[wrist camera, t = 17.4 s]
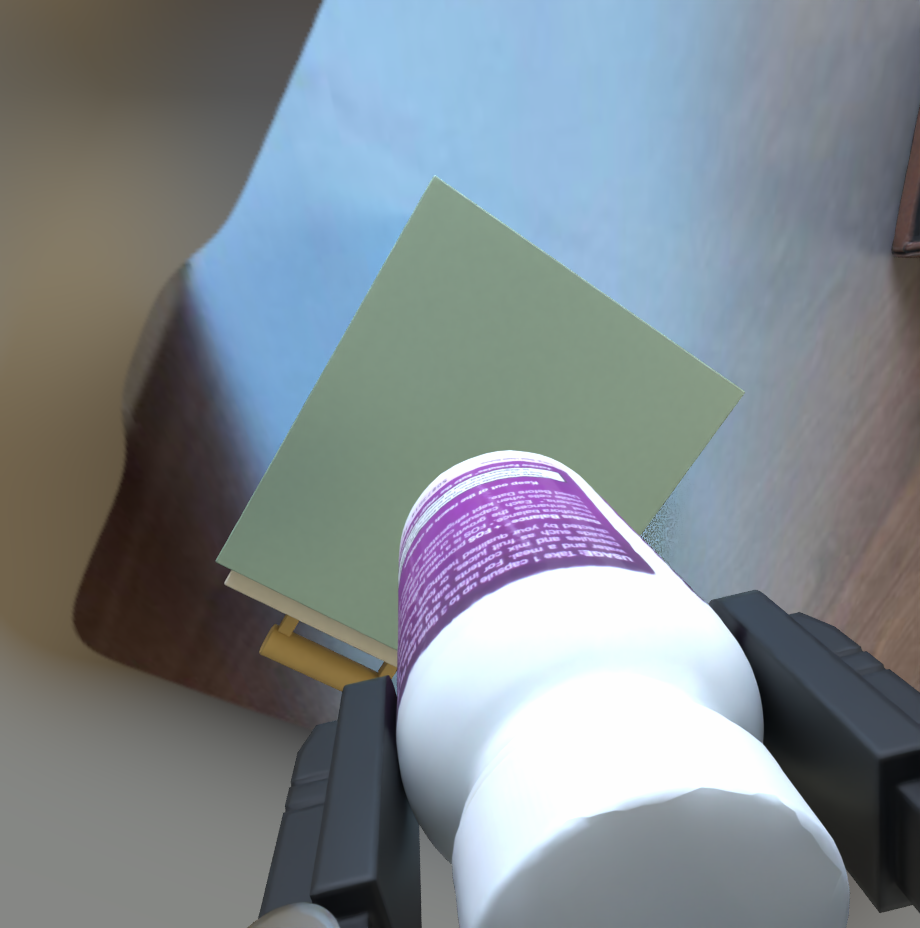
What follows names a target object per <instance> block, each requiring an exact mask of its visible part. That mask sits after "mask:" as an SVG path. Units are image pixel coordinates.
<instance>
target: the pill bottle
mask: <svg viewBox="0 0 920 928" xmlns="http://www.w3.org/2000/svg"><path fill="white" fill-rule="evenodd" d="M763 738H764V719H763V709H762V702H761V697H760V693H759V689H758V685H757V682H756V679H755V676H754V673H753V670H752V668H751V666H750V663H749V661H748V659H747V658H746V656H745V654H744V652H743V650H742V648H741V647H740V645H739V643H738V642H737V640H736V639H735V638H734V636H733V635H732V634H731V632H730V631H729V630H728V628H727V627H726V626H725V624H724V623H723V622H722V620H721V619H720V617H719V616H718V615H717V614H716V613H715V612H714V610H713V609H712V608H711V607H710V606H709V605H708V604H707V603H706V602H705V601H704V600H703V599H701V598H700V597H699V596H698V595H697V594H696V593H695V592H694V591H693V590H692V588H691V587H690V586H689V585H688V584H687V583H686V582H685V581H684V580H683V579H682V578H681V577H680V576H679V575H678V574H677V573H676V572H675V571H674V570H673V569H672V568H671V567H670V566H669V565H668V564H667V563H666V562H665V561H664V560H663V559H662V558H661V557H660V556H659V555H658V554H657V553H656V552H655V551H654V550H653V549H652V548H651V547H650V546H649V545H648V544H647V543H646V542H645V541H644V540H643V539H642V538H641V537H640V536H639V535H638V534H637V533H636V532H635V531H634V530H633V529H632V528H631V527H630V526H629V525H628V524H627V523H626V521H625V520H624V519H623V518H622V517H621V516H620V515H619V514H618V513H617V512H616V511H615V510H614V509H613V508H612V507H611V506H610V505H609V504H608V503H607V501H606V500H604V499H603V498H602V497H601V496H600V495H599V494H597V493H596V492H595V491H594V490H593V488H592V487H591V486H590V485H588V484H587V483H586V481H585V480H584V479H583V478H581V477H580V476H579V475H578V474H577V473H575V472H574V471H573V470H571V469H570V468H568V467H567V466H565V465H563V464H562V463H560V462H558V461H556V460H553V459H551V458H549V457H546V456H543V455H540V454H534V453H529V452H521V451H512V450H508V451H497V452H492V453H487V454H483V455H480V456H477V457H474V458H471V459H468V460H466V461H463V462H461V463H459V464H457V465H455V466H453V467H452V468H450V469H448V470H447V471H445V472H443V473H442V474H440V475H439V476H438V477H437V478H436V479H435V480H434V481H433V482H432V483H431V484H430V485H429V486H428V487H427V488H426V489H425V490H424V492H423V493H422V494H421V496H420V497H419V499H418V500H417V501H416V503H415V504H414V506H413V508H412V510H411V512H410V514H409V516H408V518H407V520H406V523H405V526H404V529H403V532H402V536H401V542H400V550H399V571H398V651H397V716H396V744H397V753H398V761H399V767H400V773H401V779H402V783H403V786H404V790H405V793H406V796H407V799H408V801H409V804H410V806H411V809H412V811H413V813H414V815H415V817H416V819H417V821H418V823H419V824H420V826H421V827H422V829H423V831H424V832H425V834H426V835H427V837H428V838H429V840H430V841H431V842H432V844H433V845H434V846H435V848H436V849H437V850H438V851H439V852H440V853H441V854H442V855H443V856H444V857H445V859H446V860H447V861H449V862H450V863H451V864H452V871H453V873H452V874H453V882H454V888H455V893H456V902H457V913H458V920H459V928H846V925H847V920H848V916H849V904H850V890H849V884H848V879H847V873H846V869H845V866H844V863H843V860H842V857H841V855H840V853H839V851H838V848H837V846H836V844H835V842H834V840H833V839H832V837H831V836H830V834H829V833H828V832H827V830H826V829H825V827H824V826H823V825H822V823H821V822H820V820H819V819H818V818H817V817H816V815H815V814H814V812H813V811H812V810H811V808H810V807H809V806H808V804H807V803H806V802H805V800H804V799H803V798H802V796H801V795H800V794H799V792H798V791H797V790H796V788H795V787H794V786H793V784H792V783H791V782H790V780H789V779H788V778H787V776H786V775H785V774H784V772H783V771H782V769H781V768H780V766H779V764H778V763H777V762H776V760H775V759H774V757H773V756H772V755H771V753H770V752H769V751H768V750H767V748H766V747H765V746H764V745H763Z"/></svg>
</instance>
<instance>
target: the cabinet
mask: <svg viewBox="0 0 920 928" xmlns="http://www.w3.org/2000/svg"><path fill="white" fill-rule="evenodd" d="M744 393H745V392H744V391H743V390H742V389H740V388H739V387H737V386H736V385H735V384H733V383H732V382H730V381H729V380H727V379H726V378H725V377H723V376H722V375H720V374H719V373H717V372H716V371H715V370H713V369H712V368H710V367H709V366H707V365H706V364H704V363H703V362H702V361H700V360H699V359H697V358H696V357H694V356H693V355H692V354H690V353H689V352H687V351H686V350H684V349H683V348H682V347H680V346H679V345H677V344H676V343H674V342H673V341H672V340H670V339H669V338H667V337H666V336H664V335H663V334H662V333H660V332H659V331H657V330H656V329H654V328H653V327H651V326H650V325H649V324H647V323H646V322H644V321H643V320H641V319H640V318H639V317H637V316H636V315H634V314H633V313H631V312H630V311H629V310H627V309H626V308H624V307H623V306H621V305H620V304H619V303H617V302H616V301H614V300H613V299H611V298H610V297H609V296H607V295H606V294H604V293H603V292H601V291H600V290H598V289H597V288H596V287H594V286H593V285H591V284H590V283H588V282H587V281H586V280H584V279H583V278H581V277H580V276H578V275H577V274H576V273H574V272H573V271H571V270H570V269H568V268H567V267H566V266H564V265H563V264H561V263H560V262H558V261H557V260H556V259H554V258H553V257H551V256H550V255H548V254H547V253H546V252H544V251H543V250H541V249H540V248H538V247H537V246H535V245H534V244H533V243H531V242H530V241H528V240H527V239H525V238H524V237H523V236H521V235H520V234H518V233H517V232H515V231H514V230H513V229H511V228H510V227H508V226H507V225H505V224H504V223H503V222H501V221H500V220H498V219H497V218H495V217H494V216H493V215H491V214H490V213H488V212H487V211H485V210H484V209H482V208H481V207H480V206H478V205H477V204H475V203H474V202H472V201H471V200H470V199H468V198H467V197H465V196H464V195H462V194H461V193H460V192H458V191H457V190H455V189H454V188H452V187H451V186H450V185H448V184H447V183H445V182H444V181H442V180H441V179H440V178H438V177H437V176H433V178H432V180H431V181H430V183H429V185H428V187H427V189H426V190H425V192H424V194H423V196H422V197H421V199H420V201H419V203H418V204H417V206H416V208H415V210H414V211H413V213H412V215H411V217H410V219H409V220H408V222H407V224H406V226H405V227H404V229H403V231H402V233H401V234H400V236H399V238H398V240H397V241H396V243H395V245H394V247H393V249H392V250H391V252H390V254H389V256H388V257H387V259H386V261H385V263H384V264H383V266H382V268H381V270H380V271H379V273H378V275H377V277H376V279H375V280H374V282H373V284H372V286H371V287H370V289H369V291H368V293H367V294H366V296H365V298H364V300H363V301H362V303H361V305H360V307H359V309H358V310H357V312H356V314H355V316H354V317H353V319H352V321H351V323H350V324H349V326H348V328H347V330H346V331H345V333H344V335H343V337H342V339H341V340H340V342H339V344H338V346H337V347H336V349H335V351H334V353H333V354H332V356H331V358H330V360H329V361H328V363H327V365H326V367H325V369H324V370H323V372H322V374H321V376H320V377H319V379H318V381H317V383H316V384H315V386H314V388H313V390H312V391H311V393H310V395H309V397H308V399H307V400H306V402H305V404H304V406H303V407H302V409H301V411H300V413H299V414H298V416H297V418H296V420H295V421H294V423H293V425H292V427H291V429H290V430H289V432H288V434H287V436H286V437H285V439H284V441H283V443H282V444H281V446H280V448H279V450H278V451H277V453H276V455H275V457H274V459H273V460H272V462H271V464H270V466H269V467H268V469H267V471H266V473H265V474H264V476H263V478H262V480H261V481H260V483H259V485H258V487H257V489H256V490H255V492H254V494H253V496H252V497H251V499H250V501H249V503H248V504H247V506H246V508H245V510H244V511H243V513H242V515H241V517H240V519H239V520H238V522H237V524H236V526H235V527H234V529H233V531H232V533H231V534H230V536H229V538H228V540H227V541H226V543H225V545H224V547H223V549H222V550H221V552H220V554H219V556H218V557H217V559H216V562H217V563H219V564H221V565H223V566H225V567H227V568H229V569H231V570H233V571H235V572H237V573H239V574H241V575H243V576H245V577H247V578H249V579H251V580H254V581H256V582H258V583H260V584H262V585H264V586H266V587H268V588H270V589H272V590H274V591H276V592H278V593H280V594H282V595H284V596H286V597H288V598H290V599H292V600H294V601H297V602H299V603H301V604H303V605H305V606H307V607H309V608H311V609H313V610H315V611H317V612H319V613H321V614H323V615H325V616H327V617H329V618H331V619H333V620H335V621H338V622H340V623H342V624H344V625H346V626H348V627H350V628H352V629H354V630H356V631H358V632H360V633H362V634H364V635H366V636H368V637H370V638H372V639H374V640H376V641H378V642H381V643H383V644H385V645H387V646H389V647H391V648H393V649H395V650H397V651H398V571H399V550H400V542H401V536H402V532H403V529H404V526H405V523H406V520H407V518H408V516H409V514H410V512H411V510H412V508H413V506H414V504H415V503H416V501H417V500H418V499H419V497H420V496H421V494H422V493H423V492H424V490H425V489H426V488H427V487H428V486H429V485H430V484H431V483H432V482H433V481H434V480H435V479H436V478H437V477H438V476H439V475H440V474H442V473H443V472H445V471H447V470H448V469H450V468H452V467H453V466H455V465H457V464H459V463H461V462H463V461H466V460H468V459H471V458H474V457H477V456H480V455H483V454H487V453H492V452H497V451H508V450H512V451H521V452H529V453H534V454H540V455H543V456H546V457H549V458H551V459H553V460H556V461H558V462H560V463H562V464H563V465H565V466H567V467H568V468H570V469H571V470H573V471H574V472H575V473H577V474H578V475H579V476H580V477H581V478H583V479H584V480H585V481H586V483H587V484H588V485H590V486H591V487H592V488H593V490H594V491H595V492H596V493H597V494H599V495H600V496H601V497H602V498H603V499H604V500H606V501H607V503H608V504H609V505H610V506H611V507H612V508H613V509H614V510H615V511H616V512H617V513H618V514H619V515H620V516H621V517H622V518H623V519H624V520H625V521H626V523H627V524H628V525H629V526H630V527H631V528H632V529H633V530H634V531H635V532H636V533H637V534H638V535H639V536H640V535H641V534H642V533H643V531H644V530H645V528H646V527H647V526H648V524H649V523H650V522H651V520H652V519H653V518H654V516H655V515H656V513H657V512H658V511H659V509H660V508H661V507H662V505H663V504H664V503H665V501H666V500H667V498H668V497H669V496H670V494H671V493H672V492H673V490H674V489H675V487H676V486H677V485H678V483H679V482H680V481H681V479H682V478H683V477H684V475H685V474H686V472H687V471H688V470H689V468H690V467H691V466H692V464H693V463H694V461H695V460H696V459H697V457H698V456H699V455H700V453H701V452H702V451H703V449H704V448H705V446H706V445H707V444H708V442H709V441H710V440H711V438H712V437H713V435H714V434H715V433H716V431H717V430H718V429H719V427H720V426H721V425H722V423H723V422H724V420H725V419H726V418H727V416H728V415H729V414H730V412H731V411H732V409H733V408H734V407H735V405H736V404H737V403H738V401H739V400H740V399H741V397H742V396H743V394H744Z"/></svg>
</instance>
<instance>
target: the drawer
mask: <svg viewBox="0 0 920 928" xmlns="http://www.w3.org/2000/svg"><path fill="white" fill-rule="evenodd" d="M225 585H226V586H228V587H231V588H233V589H235V590H237V591H239V592H241V593H243V594H245V595H247V596H249V597H251V598H253V599H256V600H258V601H260V602H262V603H264V604H266V605H268V606H270V607H272V608H274V609H276V610H278V611H280V612H283V613H285V614H286V615H285V617H284V618H283V620H282V622H281V623H280V626H279V625H277V624H275V625H273V627H272V628H271V630H270V631H269V633H268V635H267V637H266V638H265V640H264V642H263V644H262V646H261V649H260V652H259V653H260V654H261V655H263V656H266V657H268V658H270V659H272V660H274V661H276V662H279V663H281V664H283V665H285V666H287V667H289V668H292V669H294V670H296V671H298V672H300V673H302V674H305V675H307V676H309V677H311V678H313V679H315V680H318V681H320V682H322V683H324V684H326V685H329V686H331V687H333V688H335V689H337V690H339V691H343V687H344V686H345V685H348V684H352V683H356V682H361V681H365V680H369V679H373V678H378V677H382V676H386V675H389V676H390V678H391V679H392V677H393V676H394V674H395V673H396V671H397V650H395V649H393V648H391V647H389V646H387V645H385V644H383V643H381V642H378V641H376V640H374V639H372V638H370V637H368V636H366V635H364V634H362V633H360V632H358V631H356V630H354V629H352V628H350V627H348V626H346V625H344V624H342V623H340V622H338V621H335V620H333V619H331V618H329V617H327V616H325V615H323V614H321V613H319V612H317V611H315V610H313V609H311V608H309V607H307V606H305V605H303V604H301V603H299V602H297V601H294V600H292V599H290V598H288V597H286V596H284V595H282V594H280V593H278V592H276V591H274V590H272V589H270V588H268V587H266V586H264V585H262V584H260V583H258V582H256V581H254V580H251V579H249V578H247V577H245V576H243V575H241V574H239V573H237V572H235V571H233V570H231V572H230V574H229V575H228V577H227V579H226V581H225ZM299 621H301V622H303V623H305V624H307V625H310V626H312V627H314V628H316V629H318V630H320V631H322V632H324V633H326V634H328V635H330V636H332V637H334V638H337V639H339V640H341V641H343V642H345V643H347V644H349V645H351V646H353V647H355V648H357V649H359V650H362V651H364V652H366V653H368V654H370V655H372V656H374V657H376V658H378V659H380V660H382V661H384V663H383V664H382V666H381V667H380V669H379V670H378V672H376V671H374V670H372V669H370V668H368V667H366V666H364V665H361V664H359V663H357V662H355V661H353V660H351V659H349V658H347V657H345V656H343V655H340V654H338V653H336V652H334V651H332V650H330V649H328V648H326V647H324V646H322V645H319V644H317V643H315V642H313V641H311V640H309V639H307V638H305V637H303V636H300V635H298V634H296V633H294V632H293V630H294V629H295V627H296V625H297V624H298V622H299Z"/></svg>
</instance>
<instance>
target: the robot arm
mask: <svg viewBox="0 0 920 928" xmlns="http://www.w3.org/2000/svg"><path fill="white" fill-rule="evenodd" d="M709 606H710V607H711V608H712V609H713V610H714V612H715V613H716V614H717V615H718V616H719V617H720V619H721V620H722V622H723V623H724V624H725V626H726V627H727V628H728V630H729V631H730V632H731V634H732V635H733V636H734V638H735V639H736V640H737V642H738V643H739V645H740V647H741V648H742V650H743V652H744V654H745V656H746V658H747V659H748V661H749V663H750V666H751V668H752V670H753V673H754V676H755V679H756V682H757V685H758V689H759V693H760V697H761V702H762V709H763V719H764V738H763V745H764V746H765V747H766V748H767V750H768V751H769V752H770V753H771V755H772V756H773V757H774V759H775V760H776V762H777V763H778V764H779V766H780V768H781V769H782V771H783V772H784V774H785V775H786V776H787V778H788V779H789V780H790V782H791V783H792V784H793V786H794V787H795V788H796V790H797V791H798V792H799V794H800V795H801V796H802V798H803V799H804V800H805V802H806V803H807V804H808V806H809V807H810V808H811V810H812V811H813V812H814V814H815V815H816V817H817V818H818V819H819V820H820V822H821V823H822V825H823V826H824V827H825V829H826V830H827V832H828V833H829V834H830V836H831V837H832V839H833V840H834V842H835V844H836V846H837V848H838V851H839V853H840V855H841V857H842V860H843V863H844V866H845V868H846V870H847V871H848V872H849V873H850V875H851V876H852V877H853V878H854V880H855V881H856V883H857V884H858V885H859V887H860V888H861V889H862V890H863V892H864V893H865V894H866V896H867V897H868V898H869V900H870V901H871V902H872V904H873V905H874V906H875V907H876V909H877V910H878V911H879V913H881V912H886V911H890V910H894V909H898V908H902V907H906V906H910V905H913V906H914V907H915V908H916V909H917V910H918V911H919V913H920V693H919V692H918V691H917V690H916V689H914V688H913V687H912V686H910V685H909V684H908V683H907V682H905V681H904V680H903V679H901V678H900V677H899V676H898V675H896V674H895V673H894V672H892V671H891V670H890V669H888V670H886V669H885V668H884V665H883V664H882V663H881V662H880V661H878V660H877V659H876V658H874V657H873V656H872V655H871V654H869V653H868V652H867V651H865V652H863V651H862V649H861V647H860V646H859V645H858V644H856V643H855V642H854V641H852V640H851V639H850V638H849V637H847V636H846V635H845V634H843V633H842V632H841V631H840V630H838V629H837V628H836V627H834V626H832V625H830V624H827V623H825V622H822V621H820V620H818V619H815V618H813V617H810V616H808V615H805V614H803V613H801V612H798V613H794V614H790V615H788V614H787V613H786V612H785V611H784V610H782V609H781V608H780V607H779V606H778V605H776V604H775V603H774V602H773V601H772V600H770V599H769V598H768V597H767V596H766V595H764V594H763V593H762V592H760V591H758V590H752V591H748V592H744V593H739V594H735V595H731V596H727V597H722V598H718V599H714V600H711V601H710V603H709ZM396 716H397V696H396V692H395V689H394V685H393V682H392V680H391V678H390V676H389V675H386V676H382V677H378V678H373V679H369V680H365V681H361V682H356V683H352V684H348V685H345V686H344V687H343V691H342V697H341V703H340V709H339V715H338V720H337V721H332V722H328V723H324V724H320V725H316V727H315V728H314V729H313V731H312V732H311V734H310V735H309V737H308V738H307V740H306V741H305V743H304V744H303V746H302V747H301V749H300V750H299V751H298V753H297V758H296V762H295V766H294V771H293V775H292V779H291V787H290V788H289V792H288V796H287V800H286V804H285V809H286V812H285V813H283V817H282V821H281V825H280V830H279V834H278V838H277V842H276V846H275V851H274V855H273V859H272V863H271V867H270V872H269V876H268V880H267V884H266V888H265V893H264V897H263V902H262V905H261V909H260V914H259V917H258V920H256V921H255V922H253V924H251V925H250V926H249V927H248V928H422V926H421V885H420V846H419V845H420V843H419V823H418V821H417V819H416V817H415V815H414V813H413V811H412V809H411V806H410V804H409V801H408V799H407V796H406V793H405V790H404V786H403V783H402V779H401V773H400V767H399V761H398V753H397V744H396Z"/></svg>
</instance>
